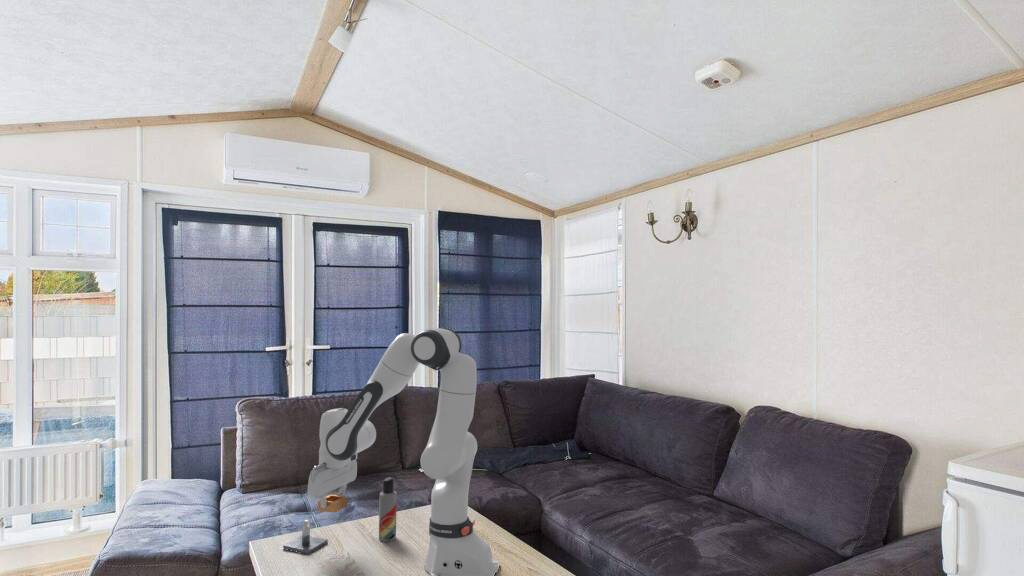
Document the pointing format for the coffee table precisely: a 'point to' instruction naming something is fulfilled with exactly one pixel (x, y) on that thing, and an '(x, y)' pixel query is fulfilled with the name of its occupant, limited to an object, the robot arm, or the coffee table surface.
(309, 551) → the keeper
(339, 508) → the wooden square frame
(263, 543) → the coffee table surface
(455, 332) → the robot arm
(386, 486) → the lotion bottle
